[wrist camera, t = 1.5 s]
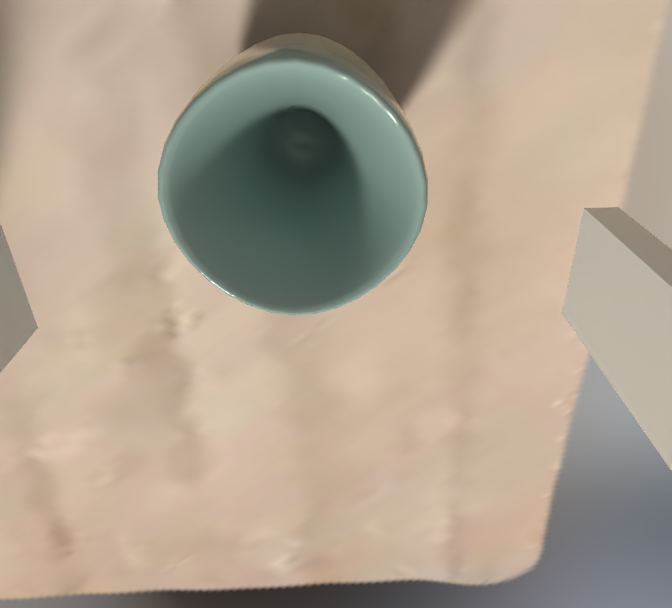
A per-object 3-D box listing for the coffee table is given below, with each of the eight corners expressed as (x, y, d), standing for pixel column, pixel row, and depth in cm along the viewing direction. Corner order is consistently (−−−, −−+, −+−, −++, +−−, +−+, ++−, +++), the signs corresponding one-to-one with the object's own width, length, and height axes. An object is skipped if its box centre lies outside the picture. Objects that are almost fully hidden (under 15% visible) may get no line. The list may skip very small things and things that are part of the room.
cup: (306, -23, 22) (296, -18, 13) (427, 127, 25) (482, 210, 16) (178, 115, 24) (99, 195, 16) (301, 235, 27) (291, 356, 19)
